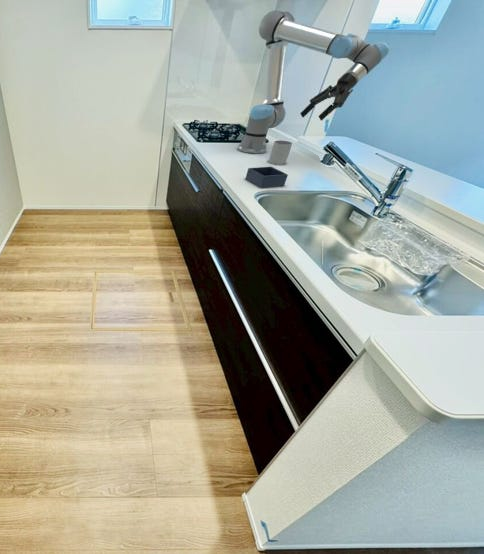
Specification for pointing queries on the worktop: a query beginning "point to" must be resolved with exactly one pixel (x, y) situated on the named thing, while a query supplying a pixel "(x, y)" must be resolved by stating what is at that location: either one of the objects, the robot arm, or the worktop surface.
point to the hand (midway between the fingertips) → (310, 116)
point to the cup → (280, 152)
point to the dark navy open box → (266, 177)
